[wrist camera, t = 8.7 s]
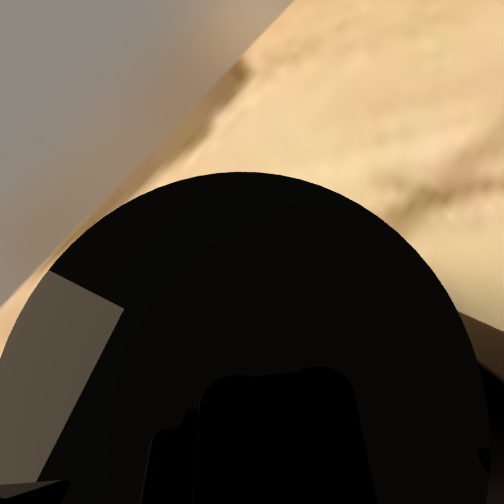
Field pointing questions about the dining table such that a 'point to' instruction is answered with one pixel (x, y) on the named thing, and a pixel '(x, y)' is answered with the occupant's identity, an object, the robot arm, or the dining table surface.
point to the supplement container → (241, 359)
